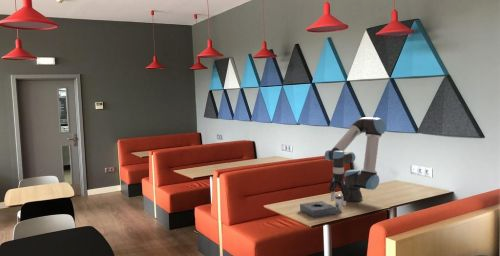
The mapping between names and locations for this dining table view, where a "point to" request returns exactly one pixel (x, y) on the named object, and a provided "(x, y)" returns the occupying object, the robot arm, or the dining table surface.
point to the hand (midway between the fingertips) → (338, 203)
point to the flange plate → (317, 209)
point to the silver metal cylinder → (338, 203)
